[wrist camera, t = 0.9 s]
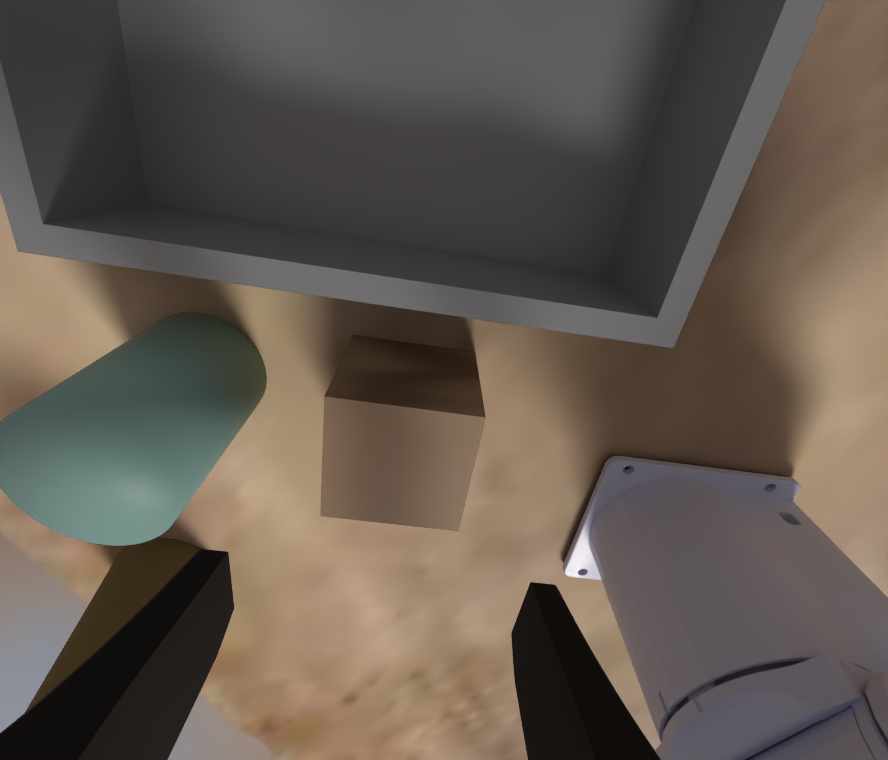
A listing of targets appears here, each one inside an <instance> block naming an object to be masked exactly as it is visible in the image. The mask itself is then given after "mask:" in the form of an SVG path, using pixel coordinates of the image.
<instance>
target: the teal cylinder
mask: <svg viewBox="0 0 888 760" xmlns="http://www.w3.org/2000/svg"><path fill="white" fill-rule="evenodd" d="M266 382H267V376H266V369H265V365H264V362H263V360H262V357H261V355H260V354H259V352H258V350H257V349H256V347H255V346H254V344H253V343H252V342H251V341H250V340H249V339H248V338H247V337H246V336H245V335H244V334H243V333H242V332H241V331H240V330H238V329H237V328H235V327H234V326H232V325H231V324H229V323H227V322H225V321H223V320H221V319H219V318H216V317H213V316H210V315H206V314H201V313H179V314H174V315H171V316H168V317H166V318H164V319H162V320H160V321H159V322H157V323H156V324H154V325H152V326H151V327H149V328H148V329H146V330H144V331H143V332H141V333H140V334H138V335H136V336H135V337H133V338H132V339H130V340H128V341H127V342H125V343H124V344H122V345H120V346H119V347H117V348H116V349H114V350H112V351H111V352H109V353H108V354H106V355H104V356H103V357H101V358H100V359H98V360H96V361H95V362H93V363H92V364H90V365H88V366H87V367H85V368H84V369H82V370H80V371H79V372H77V373H76V374H74V375H72V376H71V377H69V378H68V379H66V380H64V381H63V382H61V383H60V384H58V385H56V386H55V387H53V388H52V389H50V390H48V391H47V392H45V393H44V394H42V395H40V396H39V397H37V398H36V399H34V400H32V401H31V402H29V403H28V404H26V405H24V406H23V407H21V408H20V409H18V410H16V411H15V412H13V413H12V414H10V415H8V416H7V417H6V418H4V419H3V420H2V421H0V487H1V489H2V490H3V492H4V493H5V494H6V495H7V496H8V497H9V499H10V500H11V501H12V502H13V503H14V504H16V505H17V506H18V507H19V508H20V509H21V510H22V511H24V512H25V513H26V514H27V515H29V516H30V517H32V518H33V519H35V520H36V521H38V522H39V523H41V524H43V525H45V526H46V527H48V528H50V529H52V530H54V531H57V532H59V533H61V534H64V535H66V536H69V537H72V538H75V539H78V540H81V541H85V542H90V543H94V544H101V545H113V546H123V545H134V544H139V543H143V542H147V541H149V540H152V539H155V538H156V537H158V536H160V535H162V534H163V533H164V532H165V531H167V530H168V529H169V528H170V527H171V526H172V524H173V523H174V522H175V520H176V519H177V518H178V516H179V515H180V513H181V512H182V510H183V509H184V508H185V506H186V505H187V503H188V502H189V501H190V499H191V498H192V496H193V495H194V494H195V492H196V491H197V489H198V488H199V487H200V485H201V484H202V482H203V481H204V479H205V478H206V477H207V475H208V474H209V472H210V471H211V470H212V468H213V467H214V465H215V464H216V463H217V461H218V460H219V458H220V457H221V456H222V454H223V453H224V451H225V450H226V448H227V447H228V446H229V444H230V443H231V441H232V440H233V439H234V437H235V436H236V434H237V433H238V432H239V430H240V429H241V427H242V426H243V425H244V423H245V422H246V420H247V419H248V417H249V416H250V415H251V413H252V412H253V410H254V409H255V408H256V406H257V405H258V403H259V402H260V400H261V399H262V397H263V395H264V392H265V389H266Z"/></svg>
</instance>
